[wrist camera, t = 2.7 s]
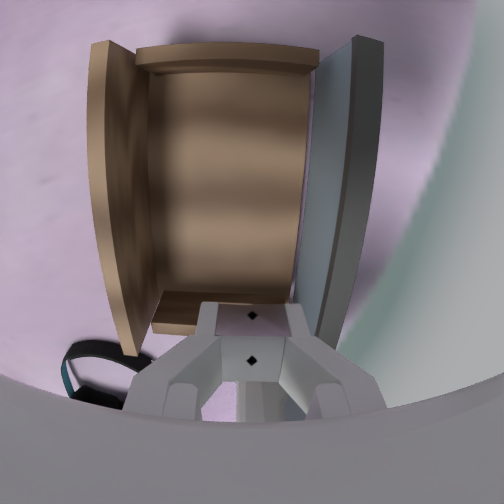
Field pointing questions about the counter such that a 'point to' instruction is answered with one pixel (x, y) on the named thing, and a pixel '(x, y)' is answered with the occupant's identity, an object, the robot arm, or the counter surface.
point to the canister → (266, 403)
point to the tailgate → (339, 182)
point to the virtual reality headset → (106, 352)
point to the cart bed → (195, 177)
